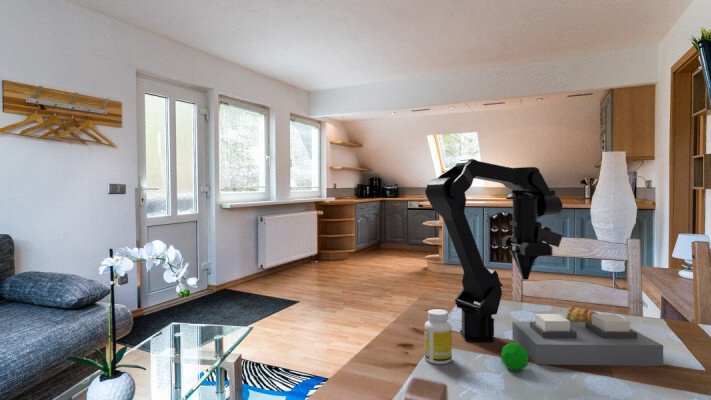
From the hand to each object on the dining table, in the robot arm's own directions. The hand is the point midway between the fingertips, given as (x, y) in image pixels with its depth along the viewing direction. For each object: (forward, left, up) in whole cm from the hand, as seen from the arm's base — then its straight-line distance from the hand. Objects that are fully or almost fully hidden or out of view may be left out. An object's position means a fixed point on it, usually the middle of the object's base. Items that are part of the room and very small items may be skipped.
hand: (525, 279), depth 101 cm
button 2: (+12, -16, -8) cm, 21 cm away
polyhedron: (-11, -25, -12) cm, 30 cm away
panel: (+6, -16, -12) cm, 21 cm away
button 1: (0, -16, -8) cm, 17 cm away
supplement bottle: (-25, -21, -12) cm, 35 cm away
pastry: (+16, +4, -13) cm, 21 cm away
